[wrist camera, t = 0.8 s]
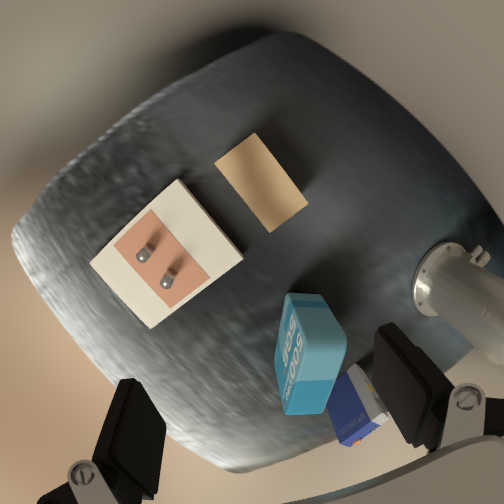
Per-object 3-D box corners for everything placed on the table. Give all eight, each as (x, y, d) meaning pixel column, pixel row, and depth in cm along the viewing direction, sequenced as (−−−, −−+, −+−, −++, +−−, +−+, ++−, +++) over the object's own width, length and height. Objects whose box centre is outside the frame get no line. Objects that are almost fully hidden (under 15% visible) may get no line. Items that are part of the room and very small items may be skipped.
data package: (286, 288, 37) (307, 340, 26) (319, 290, 37) (350, 340, 26) (273, 360, 41) (284, 420, 29) (302, 360, 41) (320, 418, 30)
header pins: (149, 241, 32) (141, 248, 30) (178, 274, 34) (174, 284, 31) (141, 248, 33) (133, 256, 30) (170, 281, 34) (165, 291, 31)
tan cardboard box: (251, 137, 31) (254, 132, 26) (297, 197, 34) (308, 203, 29) (217, 163, 32) (214, 163, 27) (264, 222, 34) (269, 232, 29)
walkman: (331, 397, 44) (350, 449, 33) (321, 392, 43) (340, 445, 32) (364, 368, 43) (392, 418, 31) (355, 362, 42) (383, 413, 31)
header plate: (179, 178, 32) (176, 179, 30) (242, 254, 35) (243, 259, 34) (94, 259, 34) (89, 263, 33) (153, 323, 37) (150, 329, 36)
